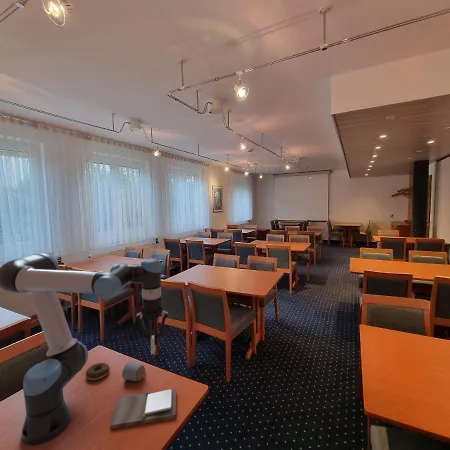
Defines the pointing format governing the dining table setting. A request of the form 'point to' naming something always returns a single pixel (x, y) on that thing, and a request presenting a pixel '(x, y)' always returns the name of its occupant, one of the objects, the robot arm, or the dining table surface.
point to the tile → (158, 402)
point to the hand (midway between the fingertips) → (153, 352)
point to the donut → (97, 371)
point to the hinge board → (139, 411)
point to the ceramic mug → (133, 371)
